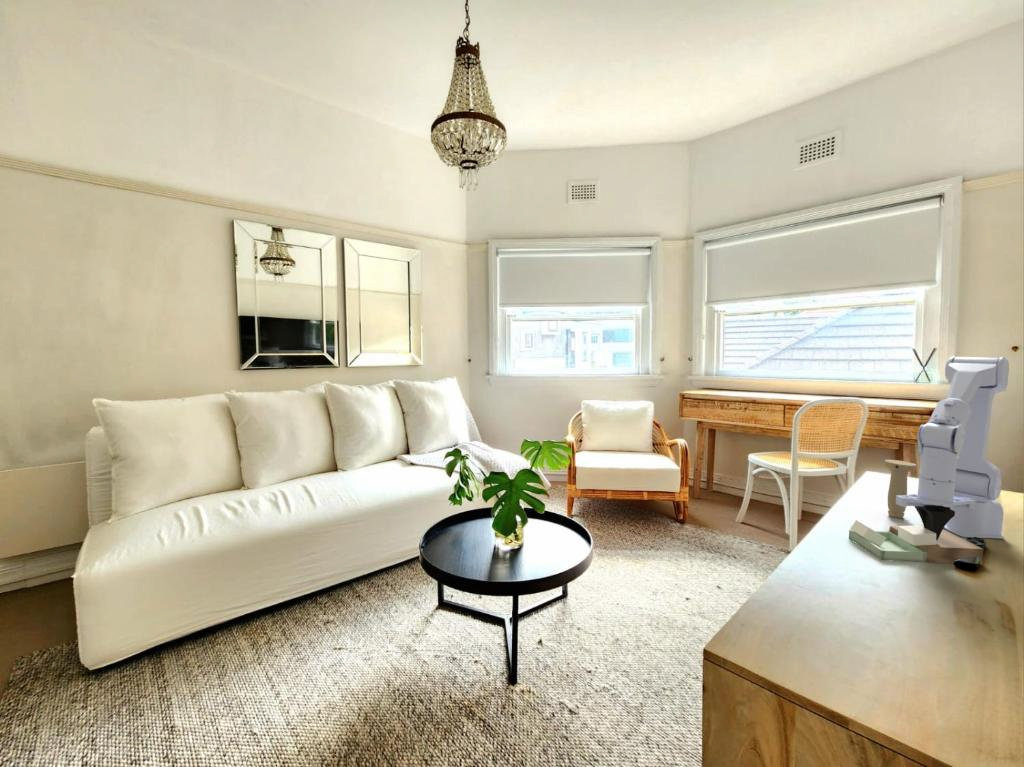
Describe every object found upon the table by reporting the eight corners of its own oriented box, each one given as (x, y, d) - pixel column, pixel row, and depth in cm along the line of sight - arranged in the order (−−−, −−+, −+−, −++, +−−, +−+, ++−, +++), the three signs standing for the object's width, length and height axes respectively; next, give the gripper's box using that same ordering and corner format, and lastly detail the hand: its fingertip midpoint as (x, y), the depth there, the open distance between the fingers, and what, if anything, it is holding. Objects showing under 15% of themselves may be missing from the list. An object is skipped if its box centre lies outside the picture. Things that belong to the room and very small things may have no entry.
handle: (908, 522, 119) (912, 466, 117) (878, 514, 124) (882, 461, 122) (913, 518, 121) (918, 463, 120) (884, 510, 127) (888, 458, 125)
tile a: (856, 520, 108) (850, 528, 108) (869, 527, 103) (862, 536, 104) (872, 529, 108) (866, 538, 108) (886, 538, 103) (880, 546, 103)
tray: (888, 540, 108) (889, 531, 108) (925, 562, 97) (926, 552, 97) (848, 538, 109) (849, 529, 109) (880, 560, 98) (881, 550, 98)
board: (938, 542, 107) (940, 527, 107) (981, 564, 96) (983, 548, 96) (888, 540, 108) (890, 525, 108) (925, 562, 97) (927, 546, 97)
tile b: (919, 535, 102) (919, 525, 102) (936, 544, 97) (936, 533, 97) (898, 536, 102) (898, 526, 102) (913, 545, 98) (913, 534, 98)
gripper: (915, 482, 95) (910, 544, 96) (990, 485, 93) (984, 547, 95) (890, 473, 102) (886, 531, 103) (960, 475, 100) (955, 533, 102)
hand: (931, 538), depth 99 cm, fingers closed, pressing on tile b
